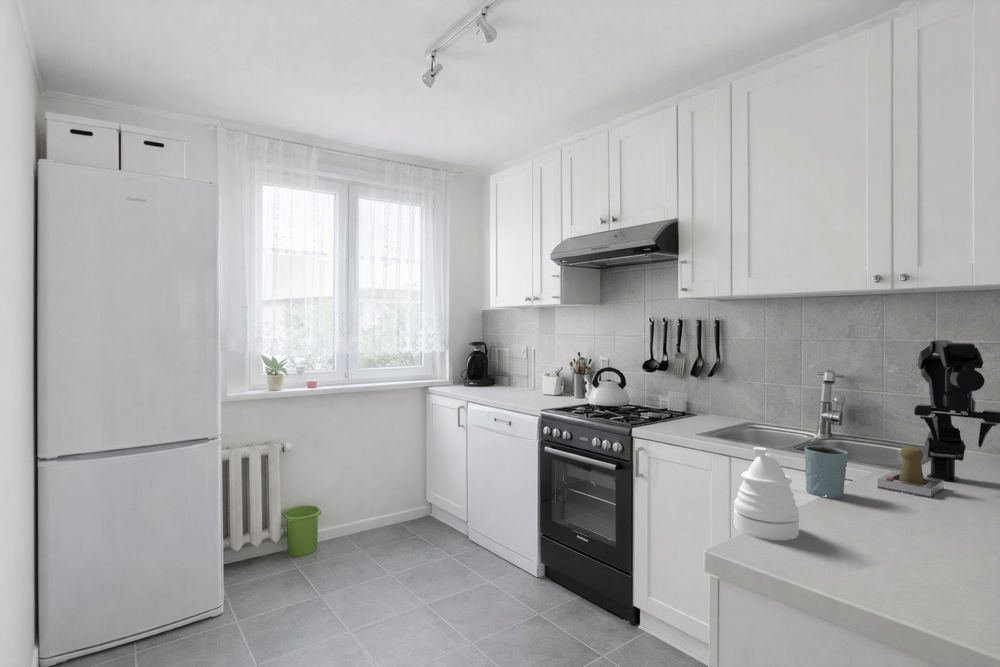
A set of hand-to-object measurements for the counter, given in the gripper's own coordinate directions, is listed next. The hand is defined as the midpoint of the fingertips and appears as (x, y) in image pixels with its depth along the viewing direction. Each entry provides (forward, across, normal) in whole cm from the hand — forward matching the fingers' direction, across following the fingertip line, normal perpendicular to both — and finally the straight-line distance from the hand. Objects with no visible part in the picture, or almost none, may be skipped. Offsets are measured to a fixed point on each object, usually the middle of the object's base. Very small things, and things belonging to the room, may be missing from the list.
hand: (958, 444), depth 149 cm
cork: (+13, +9, +7) cm, 17 cm away
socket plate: (+13, +9, +7) cm, 17 cm away
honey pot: (+13, +20, +72) cm, 76 cm away
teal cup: (+13, +22, +32) cm, 41 cm away
